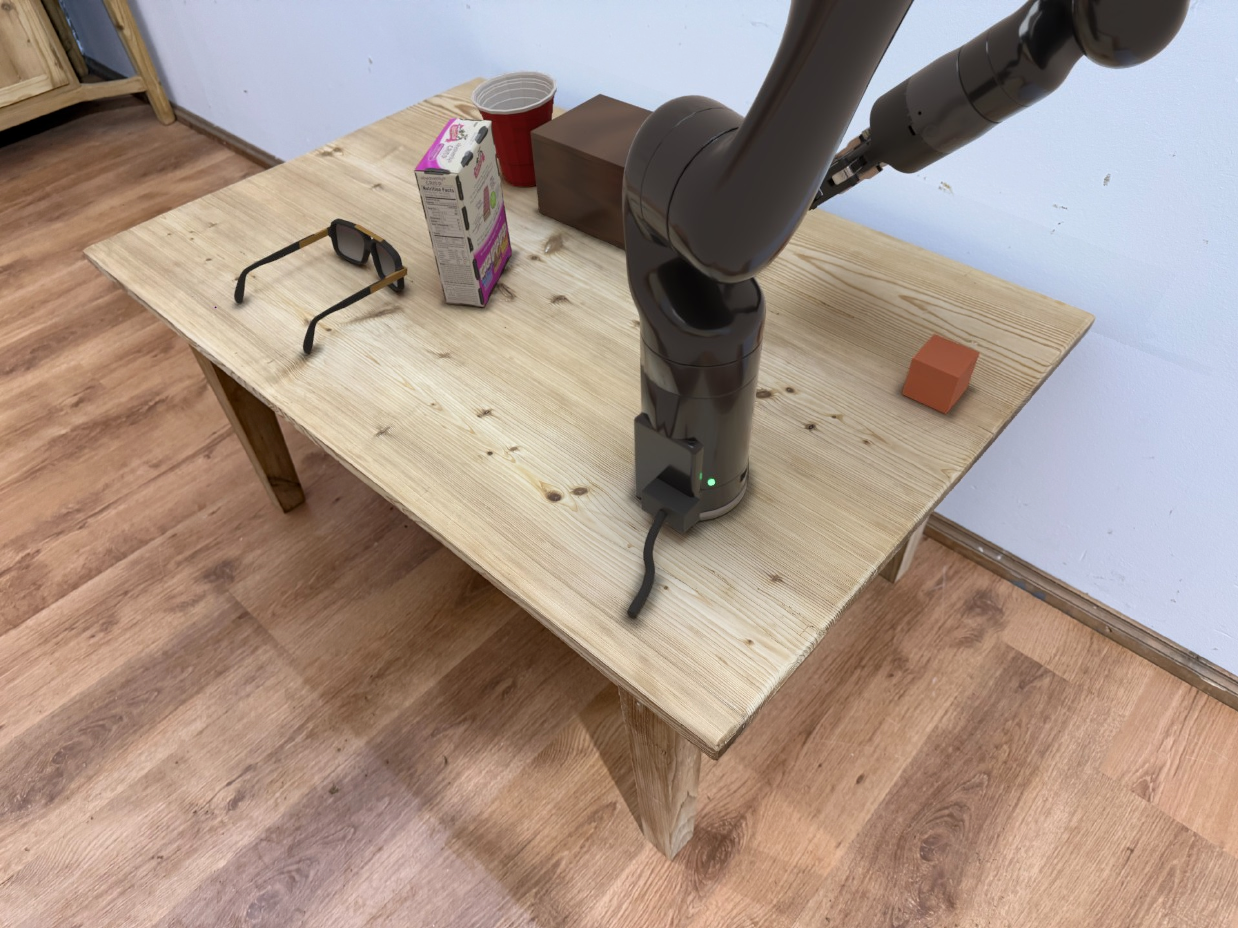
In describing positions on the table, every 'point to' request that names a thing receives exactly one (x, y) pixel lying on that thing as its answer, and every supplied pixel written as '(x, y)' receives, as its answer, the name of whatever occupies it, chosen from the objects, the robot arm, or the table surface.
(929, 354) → the block
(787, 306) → the table surface
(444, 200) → the candy bar box
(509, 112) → the plastic cup
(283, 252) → the sunglasses
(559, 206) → the dark wooden cube
